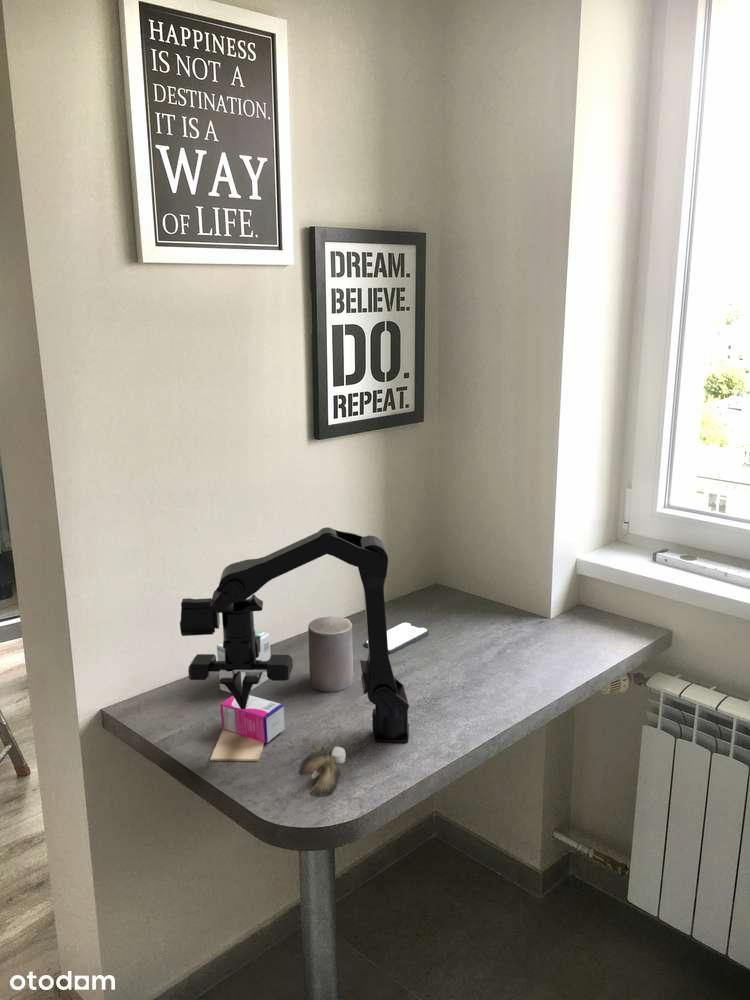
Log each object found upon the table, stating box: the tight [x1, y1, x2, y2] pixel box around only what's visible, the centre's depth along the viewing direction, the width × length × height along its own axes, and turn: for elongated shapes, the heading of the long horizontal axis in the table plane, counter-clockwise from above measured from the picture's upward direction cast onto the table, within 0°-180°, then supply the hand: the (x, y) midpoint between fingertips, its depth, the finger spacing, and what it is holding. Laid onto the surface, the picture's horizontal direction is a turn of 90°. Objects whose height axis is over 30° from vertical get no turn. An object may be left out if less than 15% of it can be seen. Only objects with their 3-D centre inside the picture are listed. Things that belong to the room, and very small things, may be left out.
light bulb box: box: [216, 629, 272, 694], centre depth 184 cm, size 11×7×11 cm, turn 149°
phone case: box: [364, 622, 430, 655], centre depth 207 cm, size 9×2×16 cm
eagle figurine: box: [297, 742, 347, 798], centre depth 148 cm, size 8×7×9 cm
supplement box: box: [219, 694, 286, 744], centre depth 164 cm, size 6×6×12 cm
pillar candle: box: [307, 615, 354, 693], centre depth 184 cm, size 10×10×15 cm
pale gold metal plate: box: [209, 729, 266, 762], centre depth 162 cm, size 9×14×1 cm, turn 177°
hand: (243, 708), depth 159 cm, fingers closed
